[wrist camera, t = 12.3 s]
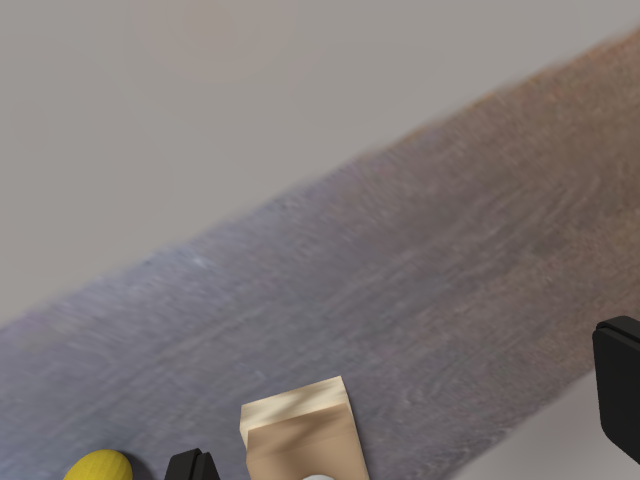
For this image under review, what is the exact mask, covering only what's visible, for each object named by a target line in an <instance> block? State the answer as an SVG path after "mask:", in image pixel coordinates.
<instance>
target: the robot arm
mask: <svg viewBox="0 0 640 480" xmlns="http://www.w3.org/2000/svg"><path fill="white" fill-rule="evenodd" d="M592 339H593V349H594V359H595V369H596V380H597V390H598V400H599V410H600V420H601V426H602V429H603V431H604V432H605V434H606V436H607V437H608V438H609V439H610V440H611V441H612V442H613V443H614V444H615V445H616V446H618V447H619V448H620V449H621V450H622V451H624V452H625V453H626V454H627V455H628V456H630V457H631V458H632V459H633V460H635V461H636V462H637V463H638V464H639V465H640V322H639V321H637V320H635V319H633V318H630V317H628V316H618V317H615V318H612V319H609V320H606V321H602V322H600V323H598V324H597V326H596V330H595V331H594V332H593V334H592ZM164 480H220V478H219V475H218V472H217V470H216V467H215V464H214V462H213V459H212V456H211V454H210V453H209V452H207V453H204V454H202V452H201V450H200V449H199V448H196V449H193V450H190V451H187V452H183V453H180V454H177V455H174V456H172V457H171V459H170V462H169V465H168V469H167V472H166V475H165V479H164Z"/></svg>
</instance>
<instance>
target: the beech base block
mask: <svg viewBox="0 0 640 480" xmlns="http://www.w3.org/2000/svg"><path fill="white" fill-rule="evenodd" d="M342 403H346V405H347V408H348V411H349V414H350V417H351V420H352V423H353V426H354V429H355V433H356V437H357V441H358V446H359V450H360V454H361V458H362V463H363V467H364V471H365V476H366V480H369V476H368V472H367V468H366V465H365V461H364V457H363V453H362V449H361V445H360V441H359V438H358V434H357V430H356V426H355V422H354V418H353V415H352V411H351V407H350V403H349V399H348V396H347V393H346V390H345V387H344V384H343V381H342V378H341V376H338V377H335V378H331V379H328V380H325V381H321V382H318V383H315V384H311V385H308V386H305V387H301V388H298V389H295V390H291V391H288V392H285V393H281V394H278V395H275V396H272V397H268V398H265V399H262V400H258V401H255V402H252V403H248V404H245V405H242V409H241V420H240V432H241V435H242V438H243V441H244V444H245V447H246V450H247V441H248V430H251V429H254V428H258V427H261V426H265V425H268V424H272V423H275V422H279V421H283V420H286V419H290V418H293V417H297V416H300V415H304V414H307V413H311V412H314V411H318V410H321V409H325V408H328V407H332V406H335V405H339V404H342Z"/></svg>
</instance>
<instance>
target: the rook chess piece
mask: <svg viewBox="0 0 640 480" xmlns="http://www.w3.org/2000/svg"><path fill="white" fill-rule="evenodd" d="M302 480H334V479H333V478H331V477H329V476H326V475H322V474H316V475H310V476H308V477H306V478H303V479H302Z"/></svg>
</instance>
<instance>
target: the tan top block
mask: <svg viewBox="0 0 640 480" xmlns="http://www.w3.org/2000/svg"><path fill="white" fill-rule="evenodd" d="M246 464H247V467H248V470H249V473H250V476H251V480H302V479H303V478H306V477H308V476H310V475H316V474H322V475H326V476H329V477H331V478H333V479H334V480H366V476H365V471H364V467H363V463H362V458H361V454H360V450H359V446H358V441H357V437H356V433H355V429H354V426H353V423H352V420H351V417H350V414H349V411H348V408H347V405H346V403H342V404H339V405H335V406H332V407H328V408H325V409H321V410H318V411H314V412H311V413H307V414H304V415H300V416H297V417H293V418H290V419H286V420H283V421H279V422H275V423H272V424H268V425H265V426H261V427H258V428H254V429H251V430H248V441H247V460H246Z"/></svg>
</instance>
